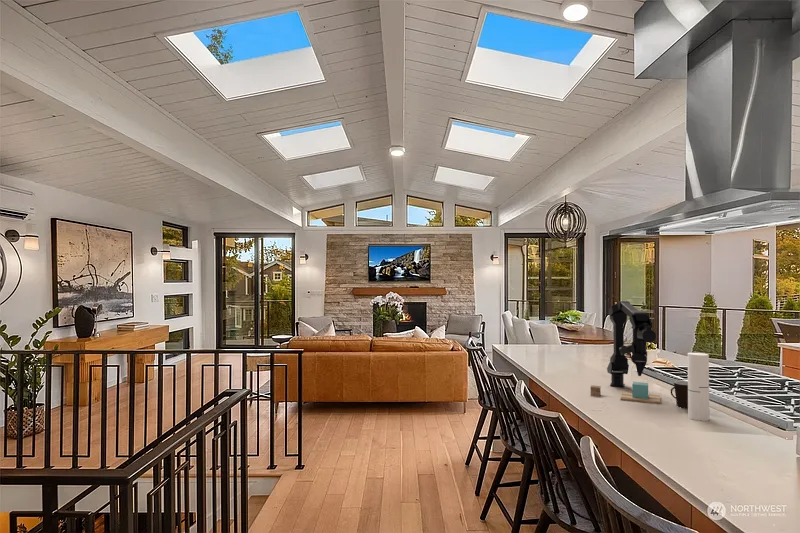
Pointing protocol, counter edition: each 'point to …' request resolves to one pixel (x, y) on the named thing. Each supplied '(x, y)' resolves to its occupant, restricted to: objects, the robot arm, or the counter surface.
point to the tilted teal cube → (640, 390)
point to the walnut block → (595, 390)
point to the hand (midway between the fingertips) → (639, 374)
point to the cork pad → (650, 398)
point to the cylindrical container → (698, 386)
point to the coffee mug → (681, 393)
